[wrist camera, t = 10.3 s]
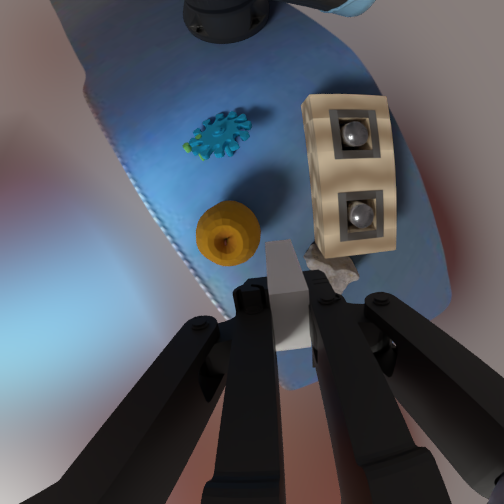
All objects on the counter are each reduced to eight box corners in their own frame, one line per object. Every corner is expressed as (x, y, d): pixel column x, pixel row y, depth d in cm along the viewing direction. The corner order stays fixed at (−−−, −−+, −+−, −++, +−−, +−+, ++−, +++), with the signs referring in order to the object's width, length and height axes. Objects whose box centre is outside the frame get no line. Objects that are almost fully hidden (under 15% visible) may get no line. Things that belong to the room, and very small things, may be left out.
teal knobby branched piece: (247, 102, 38) (251, 141, 34) (257, 128, 44) (263, 168, 39) (184, 122, 41) (177, 163, 37) (199, 145, 46) (195, 186, 42)
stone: (290, 270, 49) (294, 283, 44) (316, 233, 47) (323, 243, 42) (331, 294, 51) (338, 310, 45) (356, 261, 49) (367, 273, 43)
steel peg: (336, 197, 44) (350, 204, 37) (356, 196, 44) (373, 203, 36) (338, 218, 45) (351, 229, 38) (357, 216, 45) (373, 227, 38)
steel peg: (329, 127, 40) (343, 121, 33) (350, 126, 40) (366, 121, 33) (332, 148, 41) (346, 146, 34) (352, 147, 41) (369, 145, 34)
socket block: (300, 105, 40) (309, 94, 32) (367, 104, 39) (386, 96, 31) (315, 242, 47) (325, 259, 40) (376, 236, 47) (396, 250, 39)
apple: (206, 251, 48) (191, 278, 37) (202, 197, 45) (184, 209, 34) (261, 250, 48) (261, 278, 37) (259, 195, 45) (260, 207, 34)
